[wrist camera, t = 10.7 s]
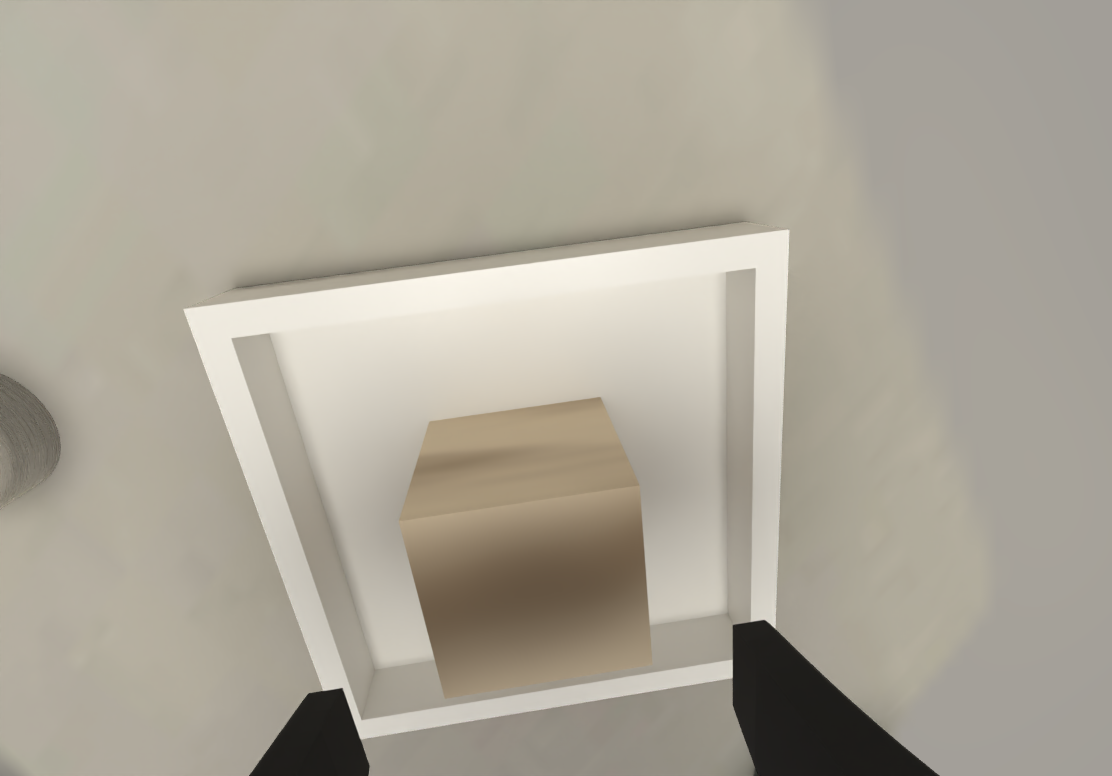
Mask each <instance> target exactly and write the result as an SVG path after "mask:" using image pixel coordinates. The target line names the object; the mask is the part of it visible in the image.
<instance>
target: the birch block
mask: <svg viewBox="0 0 1112 776" xmlns="http://www.w3.org/2000/svg"><path fill="white" fill-rule="evenodd" d="M399 525H400V529H401V533H402V536H403V540H404V544H405V548H406V552H407V556H408V559H409V563H410V567H411V571H412V575H413V579H414V582H415V586H416V590H417V594H418V598H419V602H420V605H421V609H422V613H423V617H424V621H425V625H426V628H427V632H428V636H429V640H430V644H431V648H432V651H433V655H434V659H435V663H436V667H437V671H438V674H439V678H440V682H441V686H442V690H443V694H444V697H445V699H447V698H453V697H459V696H465V695H471V694H478V693H484V692H490V691H496V690H502V689H508V688H514V687H520V686H526V685H533V684H539V683H545V682H551V681H557V680H563V679H569V678H575V677H582V676H588V675H594V674H600V673H606V672H612V671H618V670H624V669H630V668H637V667H643V666H649V665H653V664H652V650H651V636H650V622H649V608H648V594H647V580H646V566H645V552H644V538H643V525H642V511H641V497H640V485H639V483H638V480H637V478H636V476H635V474H634V471H633V469H632V467H631V465H630V462H629V460H628V458H627V456H626V453H625V451H624V449H623V447H622V444H621V442H620V440H619V438H618V435H617V433H616V431H615V429H614V426H613V424H612V422H611V420H610V417H609V415H608V413H607V411H606V408H605V406H604V404H603V402H602V399H601V397H597V398H590V399H583V400H576V401H569V402H562V403H555V404H548V405H541V406H534V407H527V408H520V409H513V410H506V411H499V412H492V413H485V414H478V415H471V416H464V417H457V418H450V419H443V420H436V421H429V424H428V427H427V431H426V434H425V437H424V440H423V444H422V447H421V450H420V453H419V457H418V460H417V463H416V466H415V470H414V473H413V476H412V479H411V483H410V486H409V489H408V492H407V496H406V499H405V502H404V505H403V509H402V512H401V515H400V519H399Z"/></svg>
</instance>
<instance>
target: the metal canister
mask: <svg viewBox="0 0 1112 776" xmlns="http://www.w3.org/2000/svg"><path fill="white" fill-rule="evenodd" d="M59 456H60V437H59V433H58V430H57V427H56V425H55V422H54V420H53V419H52V417H51V415H50V413H49V412H48V411H47V409H46V408H45V406H44V405H43V404H42V403H41V402H40V401H39V400H38V399H37V397H35V396H34V395H33V394H32V393H31V392H30V391H29V390H27V389H26V388H25V387H23V386H22V385H20V384H19V383H17V382H16V381H14V380H12V379H11V378H9V377H7V376H5V375H2V374H0V509H2V508H3V507H5V506H6V505H8V504H10V503H11V502H13V501H14V500H16V499H17V498H19V497H20V496H22V495H23V494H25V493H26V492H28V491H29V490H31V489H32V488H34V487H35V486H37V485H39V484H40V483H41V482H43V481H44V480H46V479H47V478H48V477H49V476H50V475H51V473H52V472H53V470H54V469H55V467H56V465H57V463H58V460H59Z"/></svg>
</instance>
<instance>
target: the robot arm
mask: <svg viewBox="0 0 1112 776" xmlns="http://www.w3.org/2000/svg"><path fill="white" fill-rule="evenodd" d="M733 707H734V710H735V713H736V716H737V718H738V721H739V724H740V727H741V730H742V733H743V735H744V738H745V741H746V744H747V746H748V749H749V752H750V755H751V757H752V760H753V763H754V765H755V768H756V770H757V772H758V774H759V776H939V775H938V774H937V773H935V772H934V771H933V770H932V769H930V768H929V767H928V766H927V765H926V764H924V763H923V762H922V761H921V760H919V759H918V758H917V757H916V756H915V755H913V754H912V753H911V752H910V751H908V750H907V749H906V748H905V747H904V746H902V745H901V744H900V743H899V742H898V741H896V740H895V739H894V738H893V737H892V736H891V735H889V734H888V733H887V732H886V731H885V730H884V729H882V728H881V727H880V726H879V725H878V724H877V723H875V722H874V721H873V720H872V719H871V718H870V717H869V716H868V715H866V714H865V713H864V712H863V711H862V710H861V709H860V708H859V707H857V706H856V705H855V704H854V703H853V702H852V701H851V700H850V699H848V698H847V697H846V696H845V695H844V694H843V693H842V692H841V691H840V690H838V689H837V688H836V687H835V686H834V685H833V684H832V683H831V682H830V681H829V680H828V679H827V678H826V677H824V676H823V675H822V674H821V673H820V672H819V671H818V670H817V669H816V668H815V667H814V666H813V665H812V664H811V663H810V662H809V661H808V660H807V659H805V658H804V657H803V656H802V655H801V654H800V653H799V652H798V651H797V650H796V649H795V648H794V647H793V646H792V645H791V644H790V643H789V642H788V641H787V640H786V639H785V638H784V637H783V636H782V635H781V634H780V633H779V632H778V631H777V630H776V629H775V628H774V627H773V626H772V625H771V624H770V623H768V622H767V621H766V620H760V621H753V622H747V623H741V624H735V625H733ZM369 767H370V766H369V763H368V760H367V757H366V754H365V751H364V748H363V745H362V743H361V740H360V737H359V734H358V731H357V728H356V725H355V722H354V719H353V717H352V714H351V711H350V708H349V705H348V702H347V699H346V696H345V693H344V690H343V688H339V689H333V690H327V691H320V692H314V693H309V694H308V695H307V696H306V697H305V699H304V700H303V701H302V703H301V704H300V705H299V707H298V708H297V710H296V711H295V712H294V714H293V715H292V717H291V718H290V719H289V721H288V722H287V724H286V725H285V726H284V728H283V729H282V731H281V732H280V733H279V735H278V736H277V738H276V739H275V740H274V742H273V743H272V745H271V746H270V747H269V749H268V750H267V752H266V753H265V754H264V756H263V757H262V759H261V760H260V761H259V763H258V764H257V766H256V767H255V768H254V770H253V771H252V773H251V774H250V775H249V776H368V774H369Z"/></svg>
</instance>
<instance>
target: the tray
mask: <svg viewBox="0 0 1112 776" xmlns="http://www.w3.org/2000/svg"><path fill="white" fill-rule="evenodd" d="M788 255H789V229H785V228H779V227H773V226H768V225H762V224H756V223H750V222H740V223H732V224H725V225H717V226H709V227H702V228H694V229H686V230H679V231H671V232H663V233H656V234H648V235H640V236H633V237H625V238H617V239H610V240H602V241H594V242H587V243H579V244H571V245H564V246H556V247H548V248H541V249H533V250H526V251H518V252H510V253H503V254H495V255H487V256H480V257H472V258H464V259H457V260H449V261H441V262H434V263H426V264H418V265H411V266H403V267H395V268H388V269H380V270H372V271H365V272H357V273H349V274H342V275H334V276H326V277H319V278H311V279H303V280H296V281H288V282H280V283H273V284H265V285H257V286H250V287H242V288H234V289H232V290H229V291H227V292H224V293H222V294H219V295H217V296H214V297H212V298H209V299H207V300H204V301H202V302H200V303H197V304H195V305H192V306H190V307H187V308H185V309H184V312H185V315H186V318H187V320H188V323H189V326H190V329H191V331H192V334H193V337H194V339H195V342H196V345H197V348H198V350H199V353H200V356H201V359H202V361H203V364H204V367H205V369H206V372H207V375H208V378H209V380H210V383H211V386H212V389H213V391H214V394H215V397H216V399H217V402H218V405H219V408H220V410H221V413H222V416H223V419H224V421H225V424H226V427H227V430H228V432H229V435H230V438H231V440H232V443H233V446H234V449H235V451H236V454H237V457H238V460H239V462H240V465H241V468H242V470H243V473H244V476H245V479H246V481H247V484H248V487H249V490H250V492H251V495H252V498H253V500H254V503H255V506H256V509H257V511H258V514H259V517H260V520H261V522H262V525H263V528H264V530H265V533H266V536H267V539H268V541H269V544H270V547H271V550H272V552H273V555H274V558H275V560H276V563H277V566H278V569H279V571H280V574H281V577H282V580H283V582H284V585H285V588H286V590H287V593H288V596H289V599H290V601H291V604H292V607H293V610H294V612H295V615H296V618H297V620H298V623H299V626H300V629H301V631H302V634H303V637H304V640H305V642H306V645H307V648H308V650H309V653H310V656H311V659H312V661H313V664H314V667H315V670H316V672H317V675H318V678H319V680H320V683H321V686H322V689H323V691H327V690H333V689H339V688H343V690H344V693H345V696H346V699H347V702H348V705H349V708H350V711H351V714H352V717H353V719H354V722H355V725H356V728H357V731H358V734H359V737H360V739H366V738H372V737H378V736H384V735H390V734H396V733H402V732H409V731H415V730H421V729H427V728H433V727H439V726H445V725H451V724H457V723H463V722H469V721H475V720H481V719H487V718H493V717H500V716H506V715H512V714H518V713H524V712H530V711H536V710H542V709H548V708H554V707H560V706H566V705H572V704H578V703H584V702H590V701H597V700H603V699H609V698H615V697H621V696H627V695H633V694H639V693H645V692H651V691H657V690H663V689H669V688H675V687H681V686H688V685H694V684H700V683H706V682H712V681H718V680H724V679H730V678H733V625H735V624H741V623H747V622H753V621H760V620H766V621H767V622H768V623H770V624H771V625H772V626H773V627H774V628H775V626H776V597H777V569H778V540H779V512H780V483H781V455H782V426H783V398H784V369H785V341H786V312H787V283H788ZM597 397H601V399H602V402H603V404H604V406H605V408H606V411H607V413H608V415H609V417H610V420H611V422H612V424H613V426H614V429H615V431H616V433H617V435H618V438H619V440H620V442H621V444H622V447H623V449H624V451H625V453H626V456H627V458H628V460H629V462H630V465H631V467H632V469H633V471H634V474H635V476H636V478H637V480H638V483H639V485H640V497H641V511H642V525H643V538H644V552H645V566H646V580H647V594H648V608H649V622H650V636H651V650H652V664H653V665H649V666H643V667H637V668H630V669H624V670H618V671H612V672H606V673H600V674H594V675H588V676H582V677H575V678H569V679H563V680H557V681H551V682H545V683H539V684H533V685H526V686H520V687H514V688H508V689H502V690H496V691H490V692H484V693H478V694H471V695H465V696H459V697H453V698H447V699H445V697H444V694H443V690H442V686H441V682H440V678H439V674H438V671H437V667H436V663H435V659H434V655H433V651H432V648H431V644H430V640H429V636H428V632H427V628H426V625H425V621H424V617H423V613H422V609H421V605H420V602H419V598H418V594H417V590H416V586H415V582H414V579H413V575H412V571H411V567H410V563H409V559H408V556H407V552H406V548H405V544H404V540H403V536H402V533H401V529H400V525H399V519H400V515H401V512H402V509H403V505H404V502H405V499H406V496H407V492H408V489H409V486H410V483H411V479H412V476H413V473H414V470H415V466H416V463H417V460H418V457H419V453H420V450H421V447H422V444H423V440H424V437H425V434H426V431H427V427H428V424H429V421H436V420H443V419H450V418H457V417H464V416H471V415H478V414H485V413H492V412H499V411H506V410H513V409H520V408H527V407H534V406H541V405H548V404H555V403H562V402H569V401H576V400H583V399H590V398H597Z"/></svg>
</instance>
